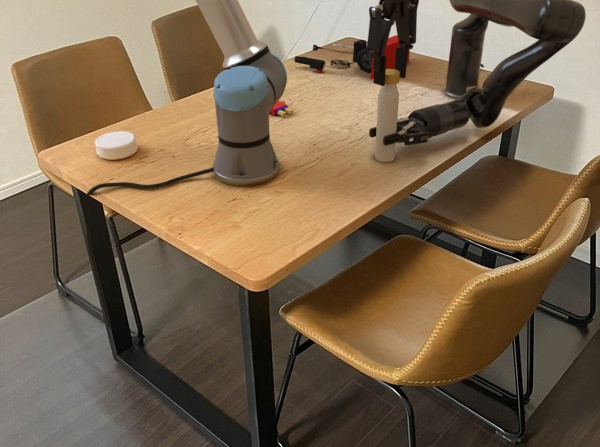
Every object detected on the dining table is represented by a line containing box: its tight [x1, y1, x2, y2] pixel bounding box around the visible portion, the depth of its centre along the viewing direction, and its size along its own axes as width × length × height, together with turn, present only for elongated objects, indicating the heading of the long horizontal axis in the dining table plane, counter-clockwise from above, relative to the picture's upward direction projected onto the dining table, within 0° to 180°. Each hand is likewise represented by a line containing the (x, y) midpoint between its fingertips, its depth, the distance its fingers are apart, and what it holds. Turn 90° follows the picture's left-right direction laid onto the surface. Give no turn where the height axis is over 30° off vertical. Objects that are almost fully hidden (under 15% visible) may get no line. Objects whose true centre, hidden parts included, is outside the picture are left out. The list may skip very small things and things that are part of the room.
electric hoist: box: [293, 34, 411, 80], centre depth 208 cm, size 10×27×30 cm
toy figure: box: [269, 99, 294, 117], centre depth 177 cm, size 2×7×12 cm
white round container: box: [94, 130, 139, 161], centre depth 154 cm, size 10×10×4 cm
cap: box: [385, 69, 401, 85], centre depth 140 cm, size 4×4×2 cm
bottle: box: [374, 84, 400, 163], centre depth 145 cm, size 5×5×21 cm
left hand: (389, 80), depth 140 cm, fingers open, 6 cm apart
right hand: (377, 137), depth 146 cm, fingers closed on bottle, 4 cm apart
